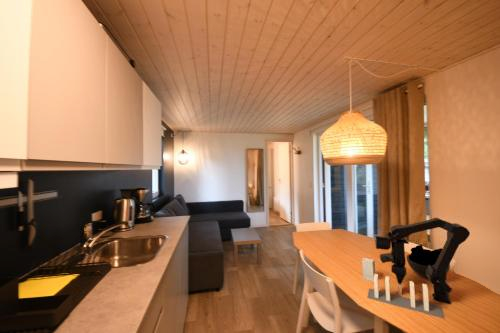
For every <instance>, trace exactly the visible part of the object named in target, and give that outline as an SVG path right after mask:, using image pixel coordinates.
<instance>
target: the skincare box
mask: <svg viewBox="0 0 500 333" xmlns="http://www.w3.org/2000/svg"><path fill="white" fill-rule="evenodd" d="M361 266H362V278H363V280H367V281H369V282H372V283H374V274H376V264H375V259H371V258H367V257H363V258H362V259H361Z"/></svg>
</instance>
